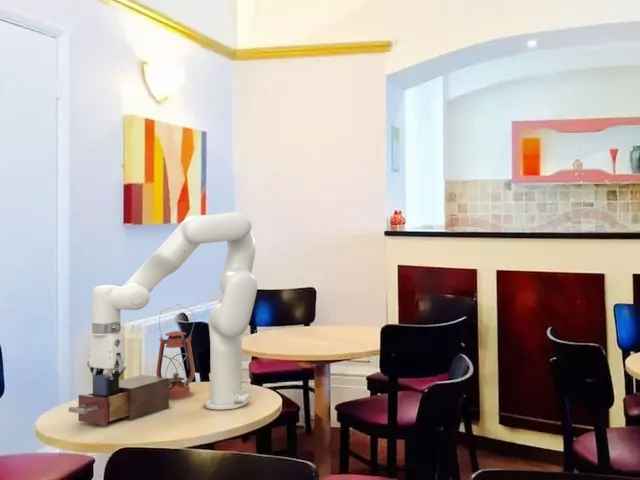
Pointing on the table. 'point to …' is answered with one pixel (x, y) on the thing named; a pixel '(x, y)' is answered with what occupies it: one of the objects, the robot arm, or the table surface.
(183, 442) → the table surface
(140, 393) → the cabinet
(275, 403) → the table surface
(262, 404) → the table surface
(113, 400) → the drawer
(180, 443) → the table surface
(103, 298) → the robot arm
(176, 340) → the lantern
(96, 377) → the block
